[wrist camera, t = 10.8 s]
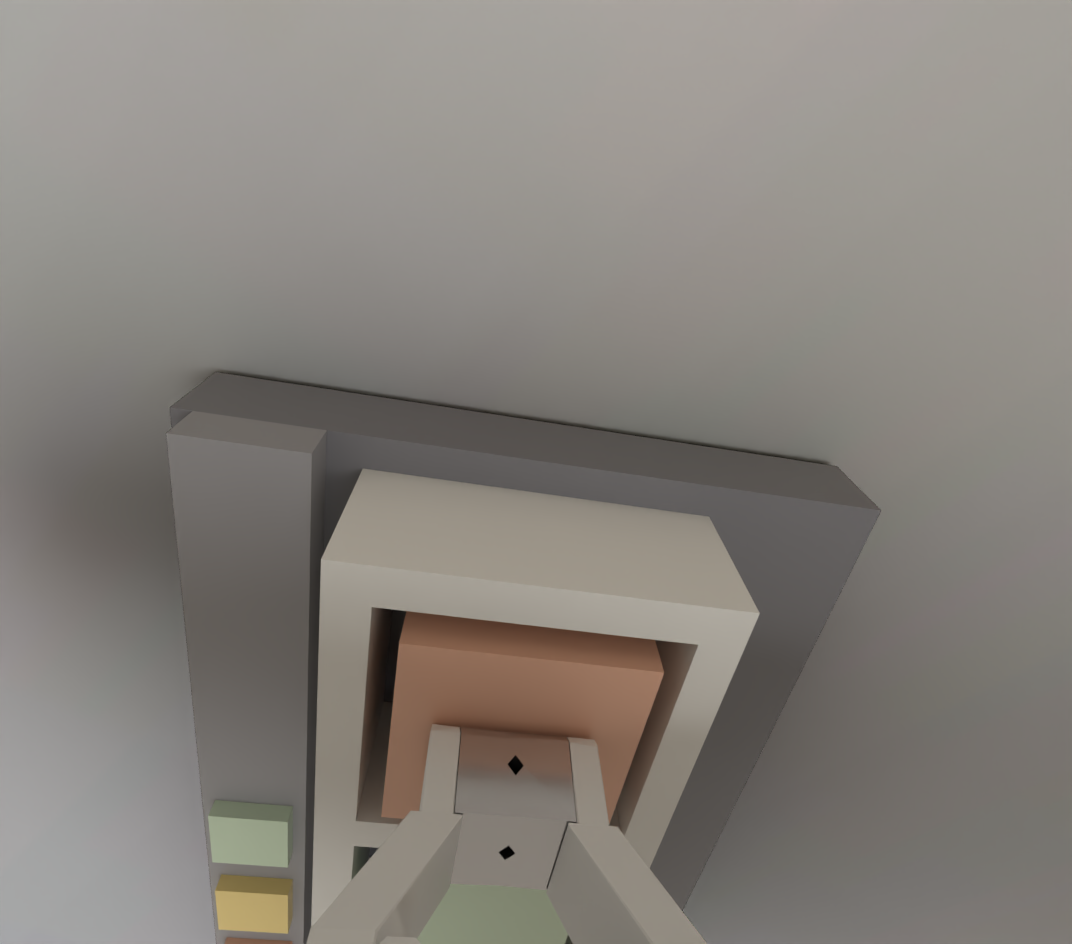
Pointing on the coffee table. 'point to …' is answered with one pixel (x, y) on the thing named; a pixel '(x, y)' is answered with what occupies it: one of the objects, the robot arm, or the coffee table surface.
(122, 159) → the coffee table surface
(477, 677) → the key terracotta
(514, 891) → the key sage
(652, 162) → the coffee table surface
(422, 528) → the coloured button panel
